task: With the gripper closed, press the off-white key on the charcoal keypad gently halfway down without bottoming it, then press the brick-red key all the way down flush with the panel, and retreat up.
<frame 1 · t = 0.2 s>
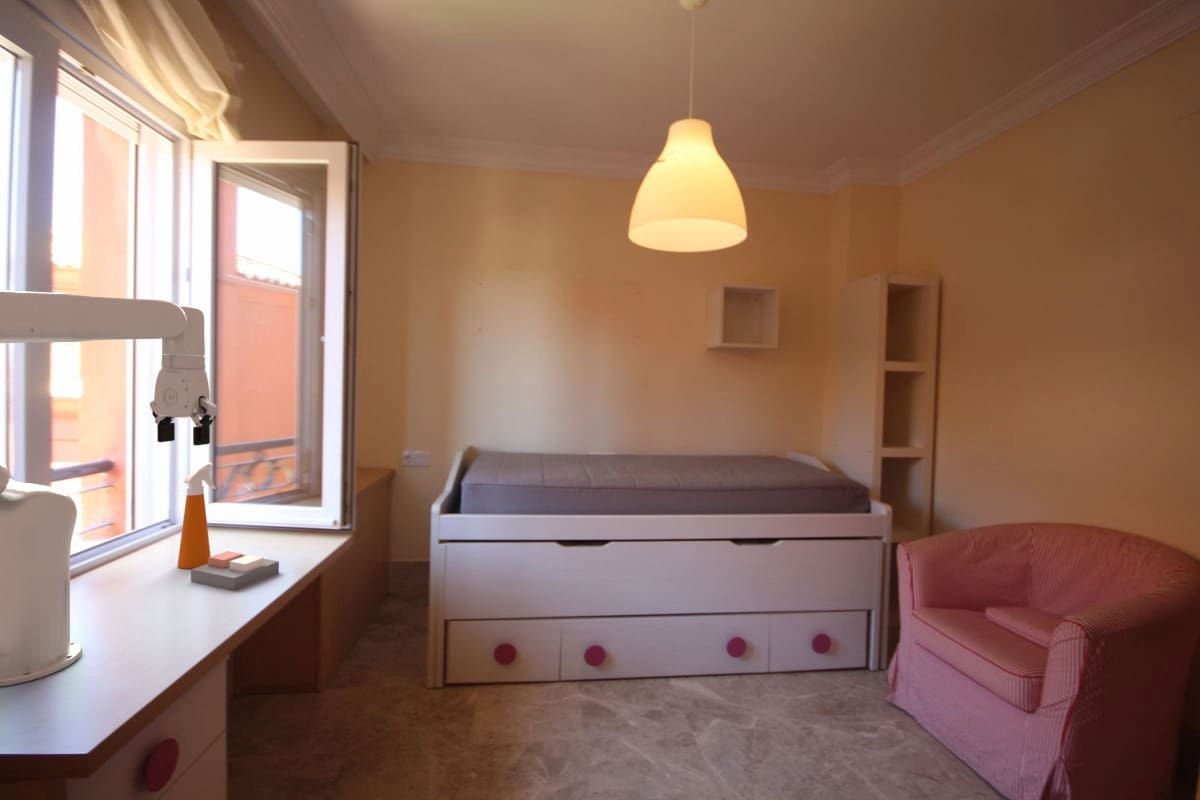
hand: (183, 443, 111), 36 cm above the table, fingers open, 9 cm apart
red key: (225, 560, 130), point 4 cm above the table, slide at 0.0 cm
key panel: (236, 576, 130), on the table
white key: (246, 564, 128), point 4 cm above the table, slide at 0.0 cm
spray bottle: (199, 562, 138), on the table
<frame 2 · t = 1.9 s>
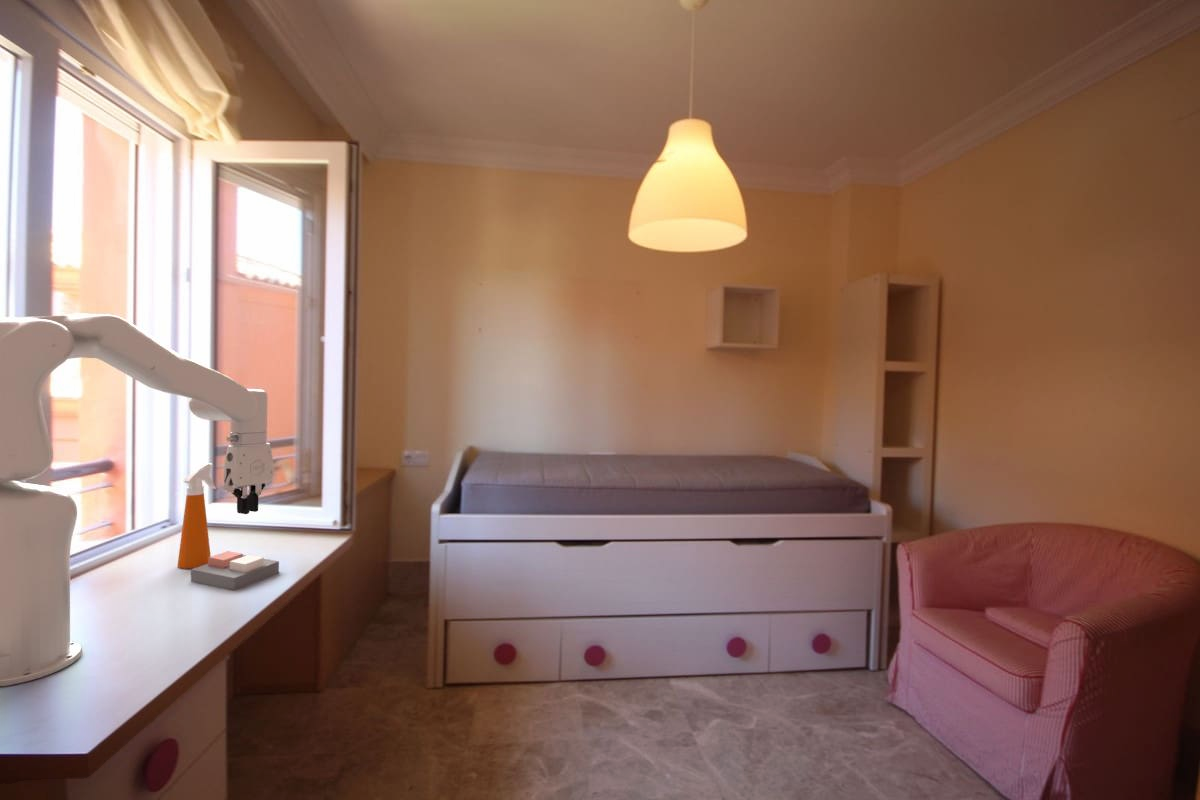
hand: (247, 511, 128), 17 cm above the table, fingers closed
nothing on the table moved.
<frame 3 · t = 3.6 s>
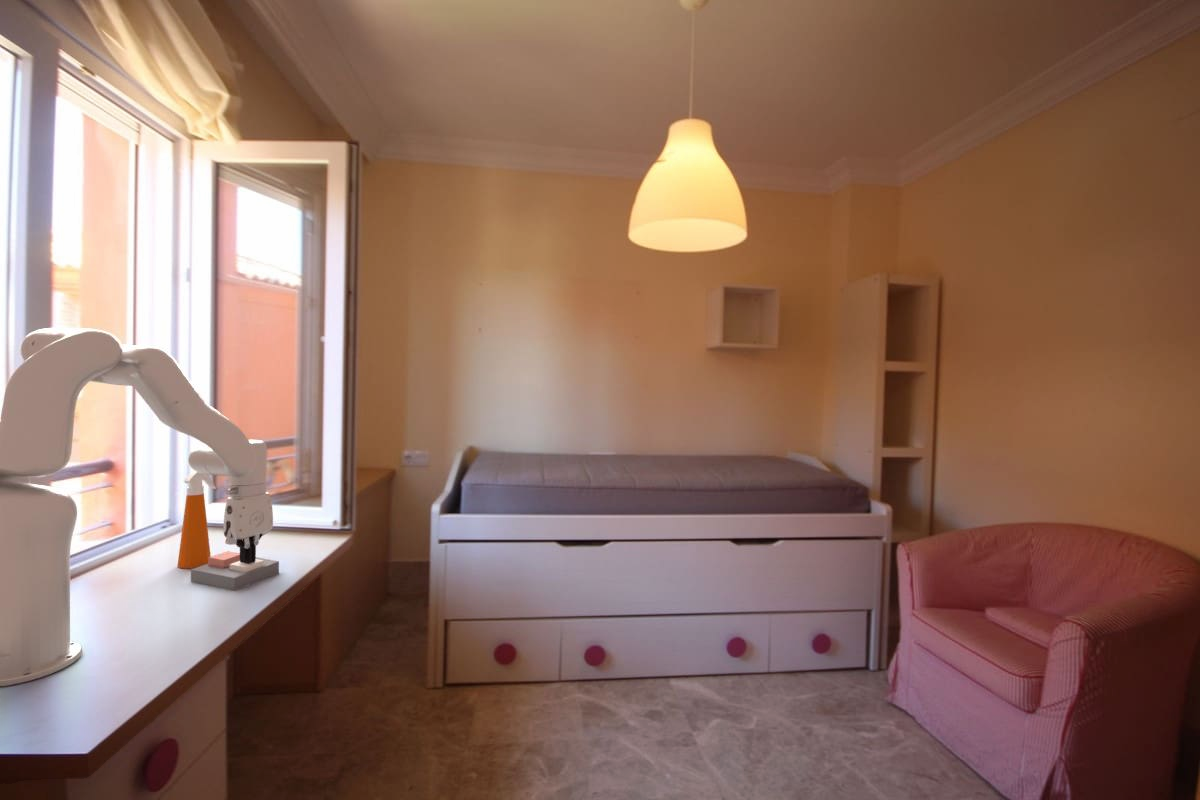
hand: (247, 561, 129), 4 cm above the table, fingers closed
white key: (246, 566, 128), point 3 cm above the table, slide at 0.7 cm
everything else where it was.
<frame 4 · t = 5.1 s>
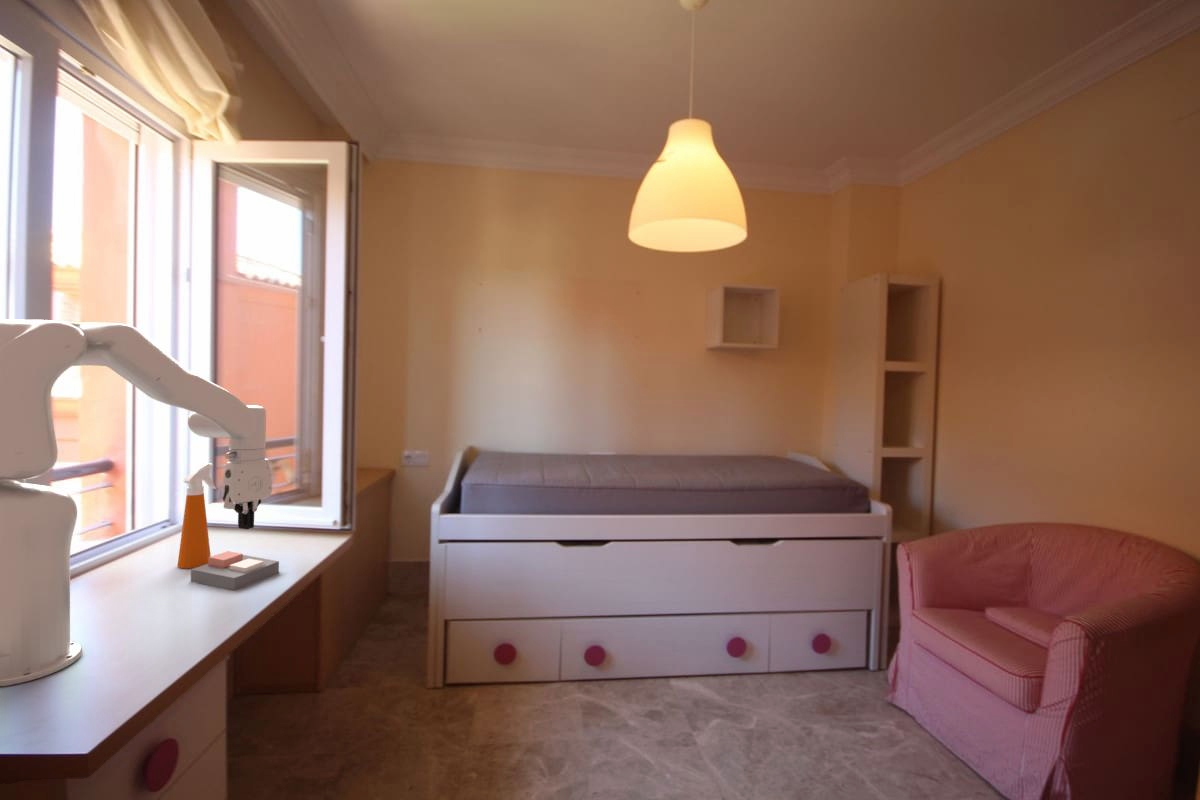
hand: (246, 527, 128), 13 cm above the table, fingers closed
nothing on the table moved.
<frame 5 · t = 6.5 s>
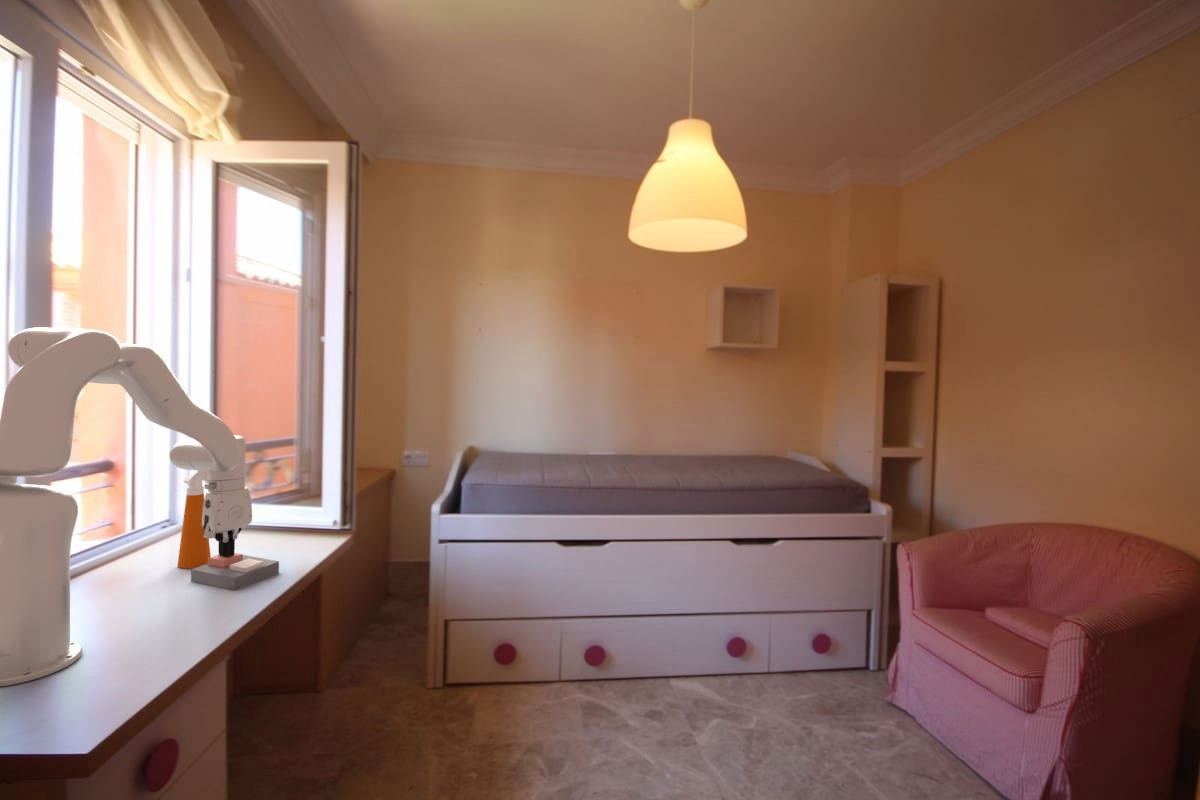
hand: (226, 555, 131), 5 cm above the table, fingers closed
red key: (225, 560, 130), point 4 cm above the table, slide at 0.1 cm, touching gripper
everything else where it was.
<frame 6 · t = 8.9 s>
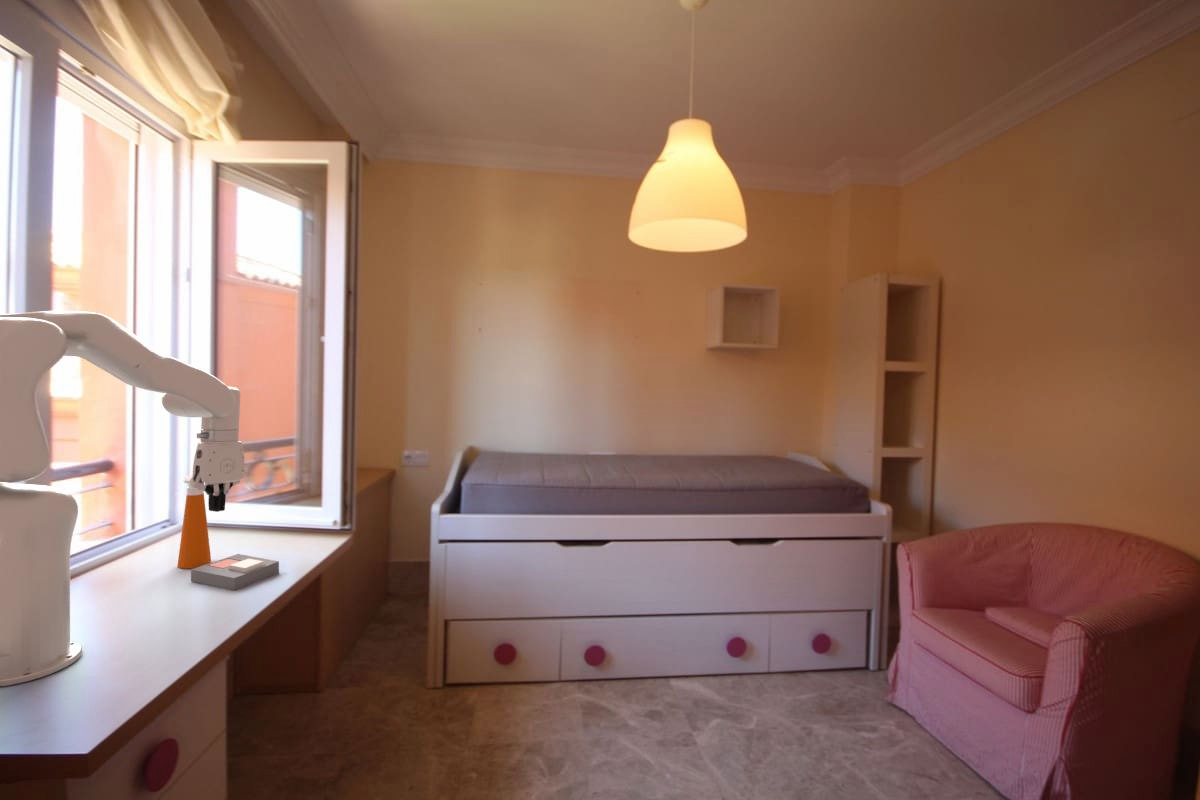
hand: (216, 510, 127), 17 cm above the table, fingers closed
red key: (225, 567, 130), point 2 cm above the table, slide at 2.0 cm
everything else where it was.
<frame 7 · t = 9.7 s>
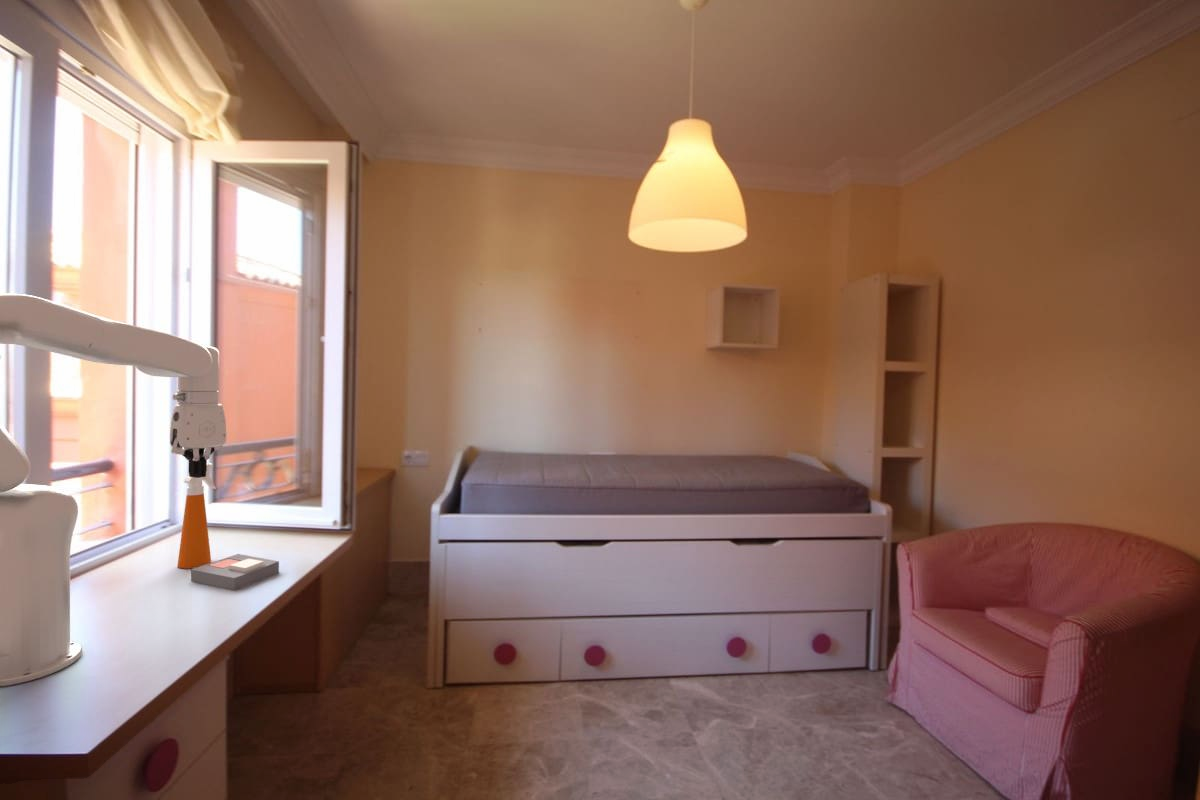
hand: (197, 476, 120), 27 cm above the table, fingers closed
nothing on the table moved.
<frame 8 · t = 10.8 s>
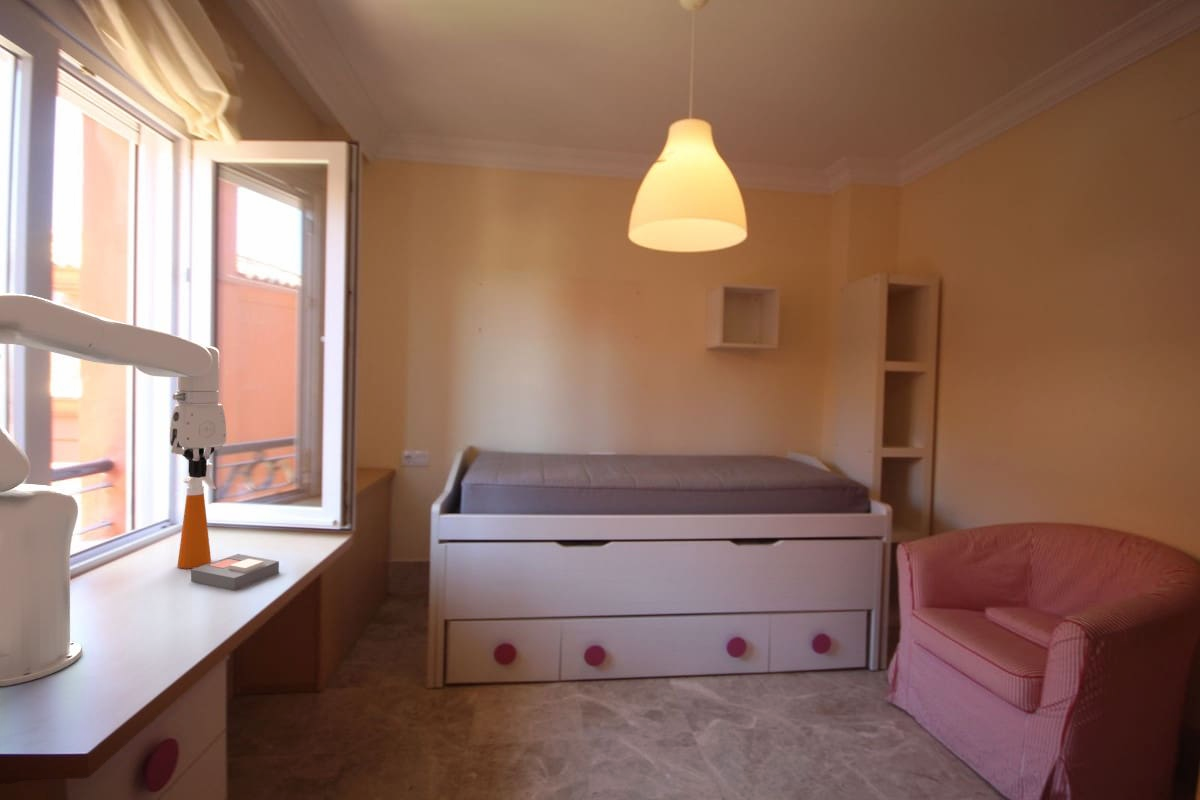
hand: (197, 476, 120), 27 cm above the table, fingers closed
nothing on the table moved.
at the end: white key slide at 0.9 cm; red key slide at 2.0 cm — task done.
